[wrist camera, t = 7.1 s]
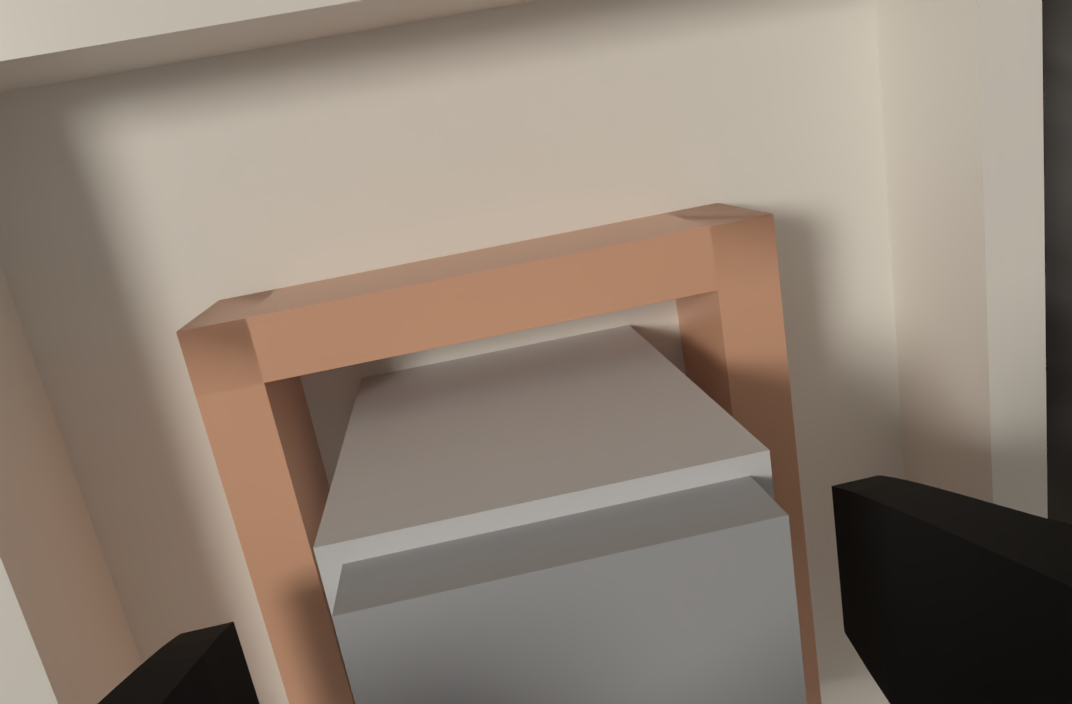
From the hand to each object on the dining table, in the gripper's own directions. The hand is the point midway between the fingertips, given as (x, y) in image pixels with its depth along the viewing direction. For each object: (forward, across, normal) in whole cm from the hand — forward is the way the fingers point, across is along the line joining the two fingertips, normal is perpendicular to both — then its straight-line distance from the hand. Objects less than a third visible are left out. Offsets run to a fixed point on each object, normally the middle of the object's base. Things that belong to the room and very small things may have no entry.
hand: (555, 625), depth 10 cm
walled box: (+4, 0, 0) cm, 4 cm away
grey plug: (+3, 0, 0) cm, 3 cm away
